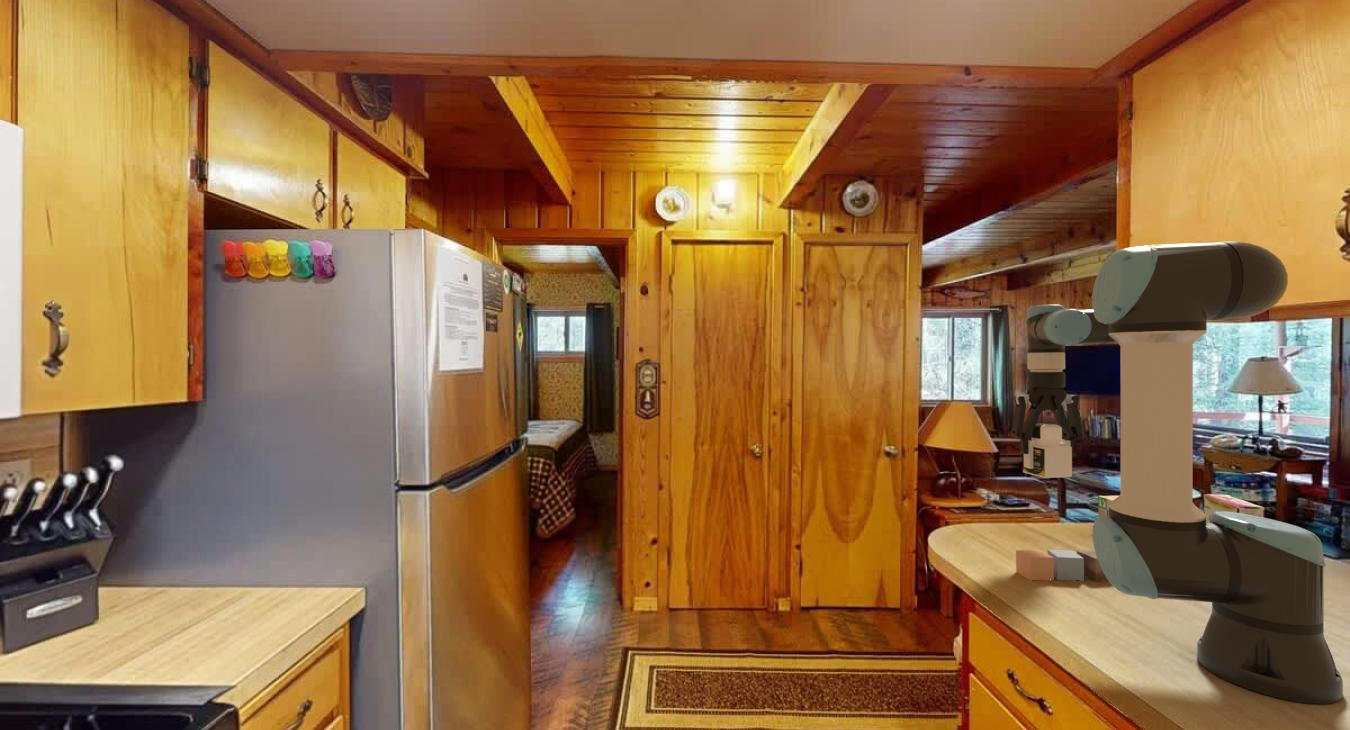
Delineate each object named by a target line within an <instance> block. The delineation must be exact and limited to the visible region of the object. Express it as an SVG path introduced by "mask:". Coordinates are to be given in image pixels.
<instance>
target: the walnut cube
mask: <svg viewBox="0 0 1350 730" xmlns="http://www.w3.org/2000/svg"><path fill="white" fill-rule="evenodd" d="M1076 553H1077V554H1078V555H1080V556H1081V557H1083V558H1084V577H1085V576H1086V577H1085V578H1087V577H1088V578H1087V579H1089V578H1090V579H1089V580H1091V579H1092V580H1091V581H1093V580H1095V581H1094V582H1096V581H1098V582H1106V581H1105V580H1108V579H1107V578H1106V576H1105V574H1104V573H1103V571H1102V568H1101V566H1100V564H1099V562H1098V559H1097V556H1096V552H1095V549H1083V550H1076ZM1103 580H1104V581H1103Z"/></svg>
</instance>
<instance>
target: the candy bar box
mask: <svg viewBox="0 0 1350 730" xmlns="http://www.w3.org/2000/svg"><path fill="white" fill-rule="evenodd" d="M1216 511H1217V512H1219V511H1227V512H1235V513H1242V514H1248V515H1253V516H1258V517H1263V518H1266V516H1265V514H1266V513H1265V512H1266V508H1265V507H1264V506H1261V505H1258V504H1255V503H1253V502H1249V501H1246V500H1243V499H1241V498H1238V497H1235V496H1232V495H1229V494H1217V493H1214V494H1212V493H1207V494H1206V493H1205V494H1203V513H1204V514H1205V515H1206V523H1211V522H1212V521H1211V520H1210V517H1211V515H1212V513H1213V512H1216Z"/></svg>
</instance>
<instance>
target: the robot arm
mask: <svg viewBox="0 0 1350 730" xmlns="http://www.w3.org/2000/svg"><path fill="white" fill-rule="evenodd" d="M1288 283H1289V275H1288V272H1287V269H1286V266H1285V265H1284V263H1283V262H1282V260H1281V259H1280V258H1279V257H1277V255H1275V254H1274V253H1273V252H1271V251H1270V250H1268V249H1267V248H1264V247H1262V246H1260V245H1257V244H1254V243H1250V242H1242V241H1218V242H1196V243H1195V242H1193V243H1174V244H1172V243H1171V244H1170V243H1169V244H1149V245H1148V244H1147V245H1142V246H1141V245H1140V246H1134V247H1133V246H1132V247H1126V248H1121V249H1118V250H1117V251H1114V252H1113V253H1111V254H1110V255H1109V256H1108V257H1107V258H1106V259H1105V261H1104V262H1103V264H1102V265H1101V267H1100V269H1099V270H1098V272H1097V275H1096V278H1095V281H1094V284H1093V287H1092V288H1093V290H1092V295H1091V309H1076V308H1065V307H1064V306H1063V304H1062V305H1061V304H1038V305H1032V306H1029V307H1028V309H1027V312H1026V313H1027V314H1026V319H1025V323H1026V347H1027V349H1026V350H1027V351H1026V352H1027V358H1026V359H1027V360H1026V361H1027V362H1026V363H1027V369H1028V370H1029V371H1028V373H1027V374H1026V375H1027V392H1026V394H1022V395H1016V394H1015V396H1014V397H1013V399H1014V404H1015V406H1014V412H1013V420H1012V426H1011V432H1010V435H1011V436H1012V437H1013V438H1017V439H1018V440H1019V452H1020V454H1022V455H1023V454H1024V467H1026V468H1029V469H1033V441H1032V439H1031V438H1032V436H1031V434H1032V432H1033V430H1034V427H1035V425H1036V424H1038V420H1039V417H1040V416H1041V414H1042V413H1043V411H1044V412H1045V411H1050V412H1051V413H1052V414H1053V416H1054V419H1055V421H1056V425H1059V426H1061V428H1062V442H1060V444H1062V445H1067V446H1071V447H1072V455H1073V454H1074V452H1075V451H1074V448H1075V447H1074V444H1075V443H1074V442H1076V441H1077V440H1078V438H1083V436H1084V433H1083V428H1082V427H1083V426H1082V421H1081V416H1080V415H1081V414H1080V409H1079V403H1080V396H1079V395H1075V394H1067V393H1066V390H1065V388H1066V373H1065V372H1064V371H1063V370H1066V346H1073V345H1075V346H1076V345H1079V346H1080V345H1107V344H1115V345H1117V344H1118V345H1119V346H1120V348H1119V349H1120V350H1119V351H1120V354H1119V355H1120V356H1119V357H1120V371H1119V372H1120V379H1119V380H1120V493H1119V495H1118V496H1119V497H1117V498H1116V499H1114V500H1113V501H1111V502H1110V503H1109V517H1106V516H1103V517H1101V518H1099V517H1097V518H1096V519H1095V520H1094V522H1093V525H1092V542H1093V543H1092V544H1093V547H1094V549H1093V550H1095V552H1096V556H1097V559H1098V562H1099V564H1100V566H1101V568H1102V571H1103V573H1104V574H1105V576H1106V578H1107V579H1108V581H1107V582H1108V583H1110V584H1111V586H1112V587H1113V588H1115V589H1116V590H1117V591H1119V592H1120V593H1122V594H1124V595H1130V596H1135V597H1143V598H1144V597H1145V598H1147V599H1152V600H1156V599H1162V600H1163V599H1165V600H1176V601H1177V600H1179V601H1190V602H1202V603H1203V602H1204V603H1205V602H1206V603H1211V606H1212V607H1211V613H1210V616H1209V618H1208V621H1207V623H1206V625H1205V628H1204V631H1203V633H1202V636H1200V637H1199V639H1198V640H1197V644H1196V652H1197V655H1196V656H1197V660H1198V662H1199V663H1200V665H1202V666H1203V667H1204V668H1205V669H1207V670H1208V671H1209V672H1211V673H1212V674H1214V675H1215V676H1217V677H1219V678H1221V679H1224V680H1225V681H1227V682H1230V683H1232V684H1234V685H1237V686H1240V687H1242V688H1245V689H1247V690H1251V691H1253V692H1256V693H1259V694H1263V695H1265V696H1266V695H1267V696H1270V697H1273V698H1274V697H1275V698H1278V699H1282V700H1286V701H1292V702H1298V703H1299V702H1300V703H1305V704H1321V705H1322V704H1323V705H1325V704H1332V703H1333V704H1334V703H1336V702H1339V701H1341V700H1342V699H1343V697H1344V694H1343V693H1344V689H1343V687H1344V686H1343V685H1344V683H1343V677H1342V675H1341V673H1340V672H1339V670H1338V669H1337V666H1336V663H1335V660H1334V657H1333V654H1332V652H1331V650H1330V648H1329V645H1328V643H1327V640H1326V638H1325V635H1324V634H1325V633H1324V632H1325V631H1324V627H1325V625H1324V621H1325V620H1324V619H1325V618H1324V615H1325V614H1324V612H1325V611H1324V610H1325V609H1324V607H1325V605H1324V601H1325V600H1324V593H1325V592H1324V591H1325V590H1324V589H1325V588H1324V584H1325V583H1324V579H1325V578H1324V577H1325V576H1324V571H1325V570H1324V568H1325V567H1326V562H1325V557H1324V551H1323V550H1324V549H1323V543H1322V541H1321V539H1320V537H1318V536H1317V535H1316V534H1315V533H1313V532H1312V531H1310V530H1307V529H1305V528H1303V527H1300V526H1298V525H1294V524H1290V523H1287V522H1283V521H1279V520H1276V519H1272V518H1267V517H1265V518H1263V517H1258V516H1253V515H1248V514H1242V513H1235V512H1227V511H1219V512H1217V511H1216V512H1213V513H1212V515H1211V517H1210V520H1211V521H1212V522H1211V523H1206V515H1205V514H1204V511H1202V510H1201V509H1200V508H1198V507H1197V506H1196V505H1195V503H1194V502H1193V496H1194V495H1193V491H1194V489H1193V480H1194V479H1193V471H1194V469H1193V467H1194V466H1193V463H1194V462H1193V460H1194V459H1193V457H1194V456H1193V455H1194V454H1193V451H1194V450H1193V449H1194V448H1193V447H1194V445H1193V441H1194V439H1193V437H1194V435H1193V427H1194V426H1193V425H1194V422H1193V420H1194V417H1193V416H1194V415H1193V413H1194V412H1193V411H1194V410H1193V407H1194V401H1193V400H1194V399H1193V398H1194V397H1193V396H1194V395H1193V393H1194V392H1193V391H1194V386H1193V385H1194V383H1193V381H1194V377H1193V375H1194V374H1193V373H1194V370H1193V369H1194V362H1193V361H1194V353H1193V352H1194V351H1193V350H1194V344H1195V343H1196V342H1197V341H1199V339H1200V338H1202V337H1203V336H1204V335H1206V334H1207V331H1208V330H1207V327H1208V326H1207V323H1208V322H1212V321H1219V322H1221V321H1222V322H1233V321H1238V320H1243V319H1247V318H1250V317H1255V316H1257V315H1260V314H1262V313H1265V312H1266V311H1268V310H1271V308H1273V307H1274V306H1275V305H1276V304H1278V302H1279V301H1280V300H1281V299H1282V298H1283V297H1284V295H1285V292H1286V291H1287V286H1288ZM1028 401H1029V403H1030V407H1029V408H1028V414H1027V416H1026V412H1027V411H1026V410H1027V404H1028ZM1064 402H1065V404H1066V411H1065V408H1064V407H1063V403H1064ZM1065 412H1067V416H1066V414H1065ZM1025 416H1026V417H1025ZM1067 417H1068V418H1067Z"/></svg>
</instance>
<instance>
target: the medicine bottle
mask: <svg viewBox="0 0 1350 730" xmlns="http://www.w3.org/2000/svg"><path fill="white" fill-rule="evenodd" d="M1062 439H1063V435H1062V428H1061V426H1059V425H1058V424H1057V423H1056V424H1055V423H1044V422H1043V423H1036V425H1035V427H1034V430H1033V432H1032V434H1031V441H1033V469H1029V468H1026V467H1024V454H1023V453H1022V472H1023V473H1024V474H1027V475H1028V474H1029V475H1032V476H1036V477H1040V478H1043V479H1050V478H1051V479H1052V478H1053V479H1054V478H1055V479H1056V478H1071V477H1073V460H1072V459H1073V454H1072V447H1071V446H1067V445H1062V444H1060V442H1062Z"/></svg>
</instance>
